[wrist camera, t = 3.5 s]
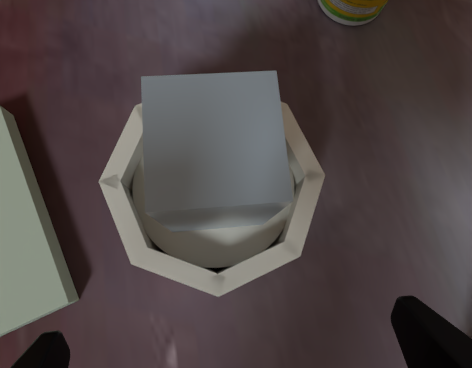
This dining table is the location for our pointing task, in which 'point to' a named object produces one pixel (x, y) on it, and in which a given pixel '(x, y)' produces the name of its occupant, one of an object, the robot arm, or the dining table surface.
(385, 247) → the dining table surface
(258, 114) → the grey-blue upright block
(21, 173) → the sage mat
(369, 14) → the supplement bottle
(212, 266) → the cream bowl
